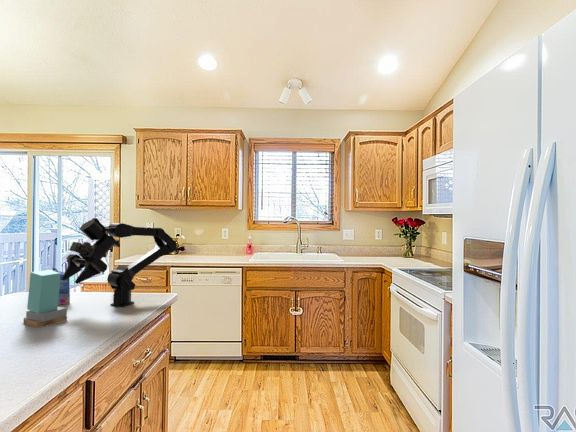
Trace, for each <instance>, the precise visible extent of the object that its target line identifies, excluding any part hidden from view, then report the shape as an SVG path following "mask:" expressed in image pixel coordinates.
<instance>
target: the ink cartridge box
mask: <svg viewBox="0 0 576 432" xmlns="http://www.w3.org/2000/svg"><path fill="white" fill-rule="evenodd" d="M51 269H52V271H56V272H59V273H61V276H60V287H59V297H58V306H61V305H65V304H66V305H67V304H70V302H71V296H70V295H71V293H70V292H71V291H70V286H71V284H70V283H71V281H70V278H68V279H66V280H64V281H63V280H62V277H63V275H64V273H65V272H64V271H58V269H57V268H56V267H52V268H51Z"/></svg>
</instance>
